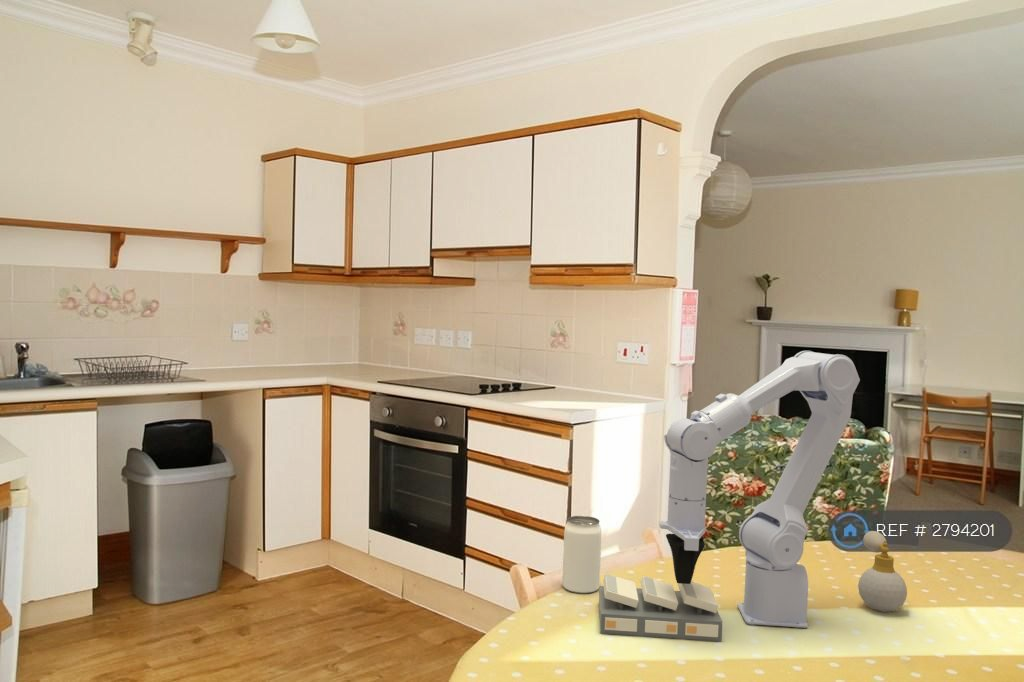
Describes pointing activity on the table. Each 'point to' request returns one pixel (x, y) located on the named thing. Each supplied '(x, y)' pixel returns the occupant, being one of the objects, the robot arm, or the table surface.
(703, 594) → the rocker
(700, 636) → the switch box
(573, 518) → the can
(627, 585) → the rocker
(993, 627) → the table surface
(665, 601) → the rocker mid
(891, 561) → the perfume bottle
